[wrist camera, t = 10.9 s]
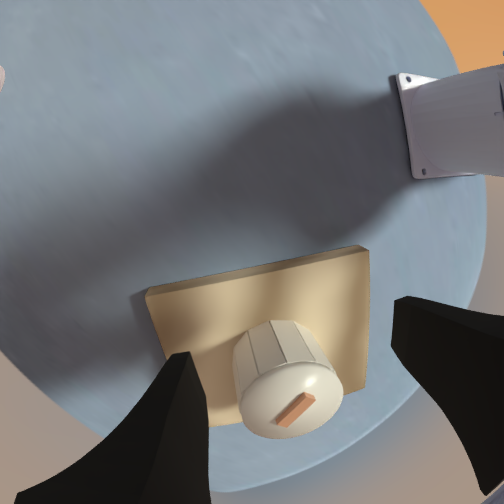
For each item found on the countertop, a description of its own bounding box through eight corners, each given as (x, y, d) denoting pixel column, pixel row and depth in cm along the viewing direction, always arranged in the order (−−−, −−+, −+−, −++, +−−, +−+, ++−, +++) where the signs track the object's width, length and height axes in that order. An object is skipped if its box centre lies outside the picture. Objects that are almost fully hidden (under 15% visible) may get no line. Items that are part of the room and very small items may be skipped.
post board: (356, 243, 19) (400, 267, 14) (356, 376, 22) (383, 414, 17) (149, 286, 17) (130, 326, 13) (197, 414, 21) (197, 462, 16)
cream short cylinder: (266, 305, 17) (289, 356, 12) (330, 342, 19) (365, 391, 13) (216, 368, 18) (221, 428, 13) (281, 396, 19) (300, 450, 14)
